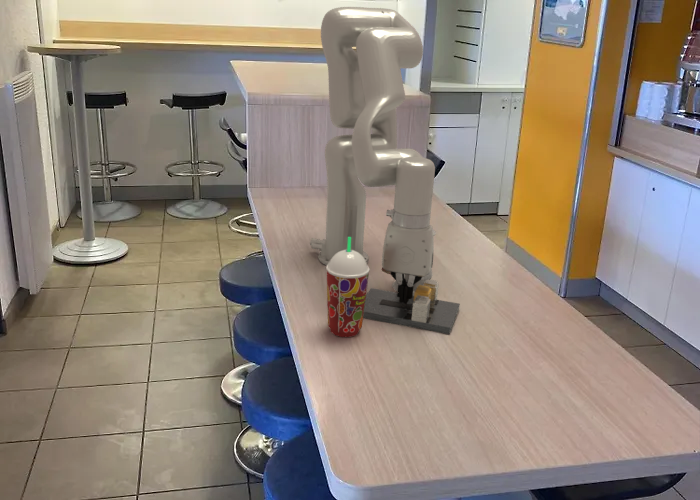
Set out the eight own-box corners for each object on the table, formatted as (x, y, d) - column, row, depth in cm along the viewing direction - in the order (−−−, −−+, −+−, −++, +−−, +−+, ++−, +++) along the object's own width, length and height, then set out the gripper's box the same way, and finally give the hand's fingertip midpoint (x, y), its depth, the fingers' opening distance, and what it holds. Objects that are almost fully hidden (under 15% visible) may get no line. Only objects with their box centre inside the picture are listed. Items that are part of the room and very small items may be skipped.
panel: (354, 316, 142) (356, 289, 139) (370, 294, 152) (372, 269, 150) (449, 334, 136) (452, 307, 134) (458, 309, 147) (462, 284, 145)
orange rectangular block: (412, 309, 142) (414, 289, 140) (416, 303, 145) (417, 284, 143) (426, 311, 141) (429, 291, 140) (429, 306, 144) (431, 286, 142)
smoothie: (361, 343, 131) (367, 247, 124) (319, 337, 132) (322, 242, 125) (368, 324, 138) (374, 232, 131) (329, 319, 140) (333, 227, 133)
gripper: (370, 218, 136) (365, 301, 142) (444, 229, 132) (435, 314, 138) (380, 208, 142) (375, 288, 149) (451, 218, 138) (442, 300, 145)
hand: (404, 300), depth 143 cm, fingers closed
